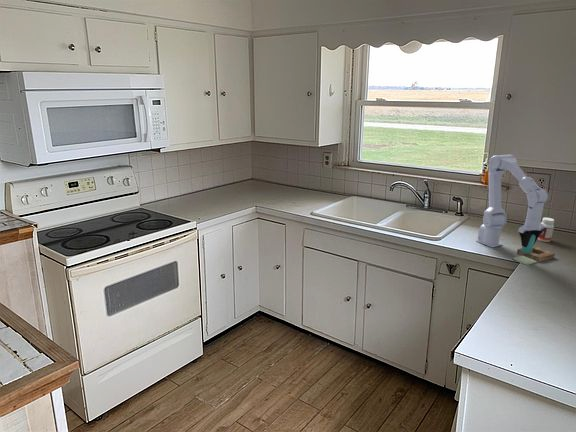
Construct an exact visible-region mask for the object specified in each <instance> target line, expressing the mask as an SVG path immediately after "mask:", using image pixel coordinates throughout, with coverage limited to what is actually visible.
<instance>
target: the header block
mask: <svg viewBox="0 0 576 432" xmlns="http://www.w3.org/2000/svg"><path fill="white" fill-rule="evenodd" d="M521 249H522V247H521V248H517V252H516V253H517V254H519V255H520V254H521V255H520V256H525V257H528V258H530V259H533V260H535V261H537V263H538V262H543V261H547V260H550V259H551V260H552V259H554V258H555V255H556V253H554V252H551V251H548V250H546V249H544V248H540V247H538V246H535V245H534V246H533V251H532V253H531V254H528V253H524V252H522V251H521Z"/></svg>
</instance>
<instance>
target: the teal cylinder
mask: <svg viewBox="0 0 576 432" xmlns="http://www.w3.org/2000/svg"><path fill="white" fill-rule="evenodd" d="M535 237H536V235H534V234H533V235H532V236H531V238H530V240H529V243H528V246H527V247H524V246H522V245H521V248H522V249H521V251H522V252H524V253H528V254H531V253H532V251H533V246H535V244H534V241H535Z"/></svg>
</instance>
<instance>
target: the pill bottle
mask: <svg viewBox="0 0 576 432" xmlns="http://www.w3.org/2000/svg"><path fill="white" fill-rule="evenodd" d="M540 223H541V224H544V228H543V229H541V230H542V231H543V232H542V234H541V235H540V236H539V237H538V239H537V240H538V241H540V242H545V243H547V242H548V243H550V242H551V240H552V239H553V238H552V237H553V233H554V228H555V225H554V223H555V219H554V218H551V217H543V218H542V221H541V222H540Z"/></svg>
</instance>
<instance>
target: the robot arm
mask: <svg viewBox="0 0 576 432" xmlns="http://www.w3.org/2000/svg"><path fill="white" fill-rule="evenodd" d="M506 171H509V172H510V173H511V174H512V176H513V177H515V179H517V181H518V186H519V187H520V188H521V190H522V191H523V192H524V193H525V195H526V200H527V209H526V210H527V211H526V216H525V220H524V224H523V225H522V226H520V227H519V228H518V234H519V237H520V242H521V247H522V246H524V247H527V246H528V243H529V240H530V238H531V236H532V235H533V234H534V235H536V237H535V241H534V245H535V244H536V242H537V240H538V237H539V236H540V235H541V234H542V232H543V231H542V230H541V229H543V228H544V224H541V223H542V221H541V219H542V216H543V211H544V205H545V203H547V202H548V200H549V198H550V194H549V192H548V191H547V189H545V188H541V187H540V186H539V185H538V184H537V183H536V181H535V179H534V178H533V177H531V176H527V175H526V174H525V172H524V171H523V170H522V168H521V166H519V164H518V160H517V158H516V157H515V156H514V155H513V154H499V155H497V154H495V155H492V156H491V157H490V158H489V159H488V174H487V175H488V207H487V208H486V209H485V210H484V211H483V218H482V223H483V224H481V225H480V227H479V229H478V235H477V239H476V241H475V242H478V243H480V244H483V245H485V246H487V247H489V248H496V247H500V246H503V243H502V242H500V238H501V233H502V229H503V228H504V226H505V225H506V224H507V221H508V219H507V215H506V210H505V209H504V208H503V207H502V175H503V173H504V172H506Z"/></svg>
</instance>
